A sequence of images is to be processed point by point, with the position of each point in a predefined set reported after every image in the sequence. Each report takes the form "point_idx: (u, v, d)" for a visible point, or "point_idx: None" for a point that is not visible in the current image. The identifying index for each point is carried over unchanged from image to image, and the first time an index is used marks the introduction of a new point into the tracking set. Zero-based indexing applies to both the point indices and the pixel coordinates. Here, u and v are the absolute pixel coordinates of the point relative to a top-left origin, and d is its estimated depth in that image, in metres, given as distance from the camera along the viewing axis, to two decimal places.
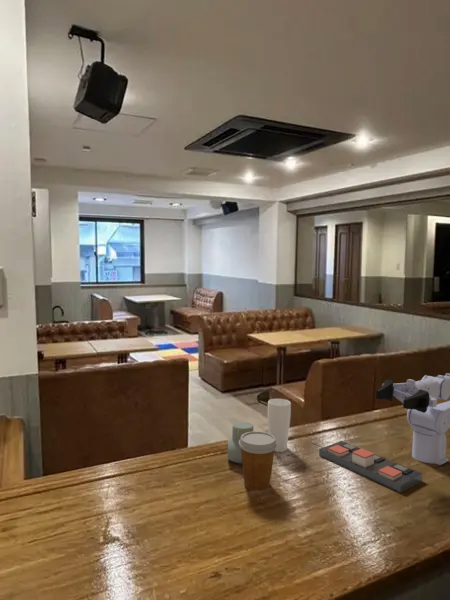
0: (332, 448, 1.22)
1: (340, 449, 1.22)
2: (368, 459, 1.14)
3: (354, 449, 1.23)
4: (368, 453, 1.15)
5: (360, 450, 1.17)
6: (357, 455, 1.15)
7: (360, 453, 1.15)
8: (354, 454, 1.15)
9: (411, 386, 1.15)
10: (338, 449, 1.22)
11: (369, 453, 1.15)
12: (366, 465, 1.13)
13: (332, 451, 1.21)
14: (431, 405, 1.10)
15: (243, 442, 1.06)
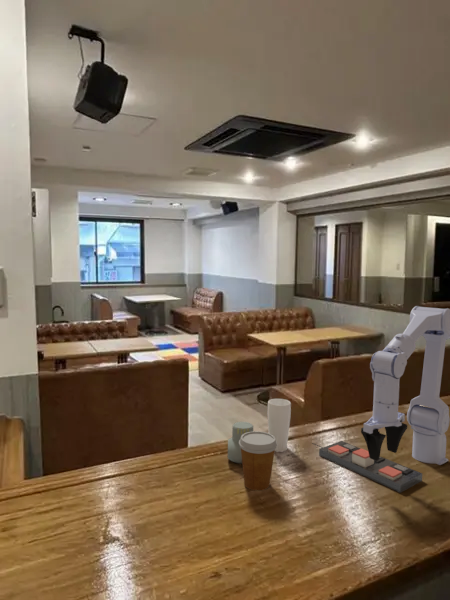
0: (332, 448, 1.22)
1: (340, 449, 1.22)
2: (368, 459, 1.14)
3: (354, 449, 1.23)
4: (368, 453, 1.15)
5: (360, 450, 1.17)
6: (357, 455, 1.15)
7: (360, 453, 1.15)
8: (354, 454, 1.15)
9: None
10: (338, 449, 1.22)
11: None
12: (366, 465, 1.13)
13: (332, 451, 1.21)
14: None
15: (243, 442, 1.06)
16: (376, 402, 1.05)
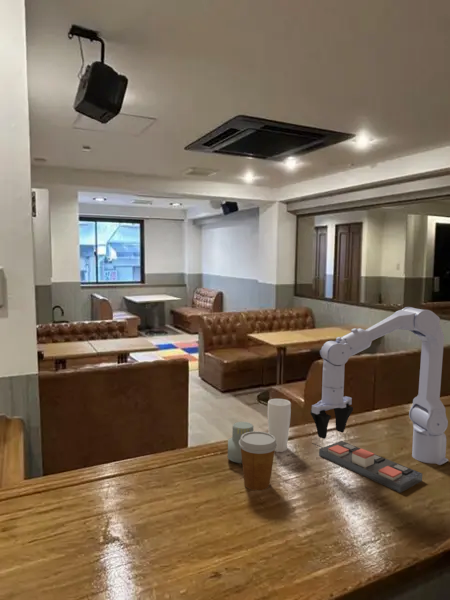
0: (332, 448, 1.22)
1: (340, 449, 1.22)
2: (368, 459, 1.14)
3: (354, 449, 1.23)
4: (368, 453, 1.15)
5: (360, 450, 1.17)
6: (357, 455, 1.15)
7: (360, 453, 1.15)
8: (354, 454, 1.15)
9: None
10: (338, 449, 1.22)
11: (369, 453, 1.15)
12: (366, 465, 1.13)
13: (332, 451, 1.21)
14: None
15: (243, 442, 1.06)
16: (324, 386, 1.17)
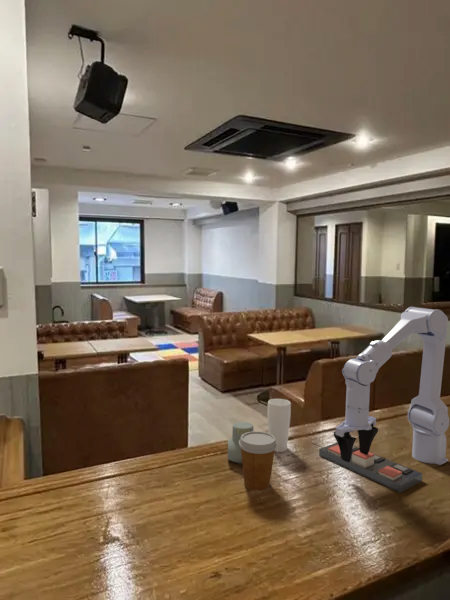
0: (332, 448, 1.22)
1: None
2: (368, 460, 1.14)
3: (354, 449, 1.23)
4: (368, 454, 1.15)
5: None
6: (357, 456, 1.15)
7: (360, 454, 1.15)
8: (354, 455, 1.15)
9: None
10: (338, 449, 1.22)
11: (369, 453, 1.15)
12: (366, 466, 1.13)
13: (332, 451, 1.21)
14: None
15: (243, 442, 1.06)
16: (348, 407, 1.11)
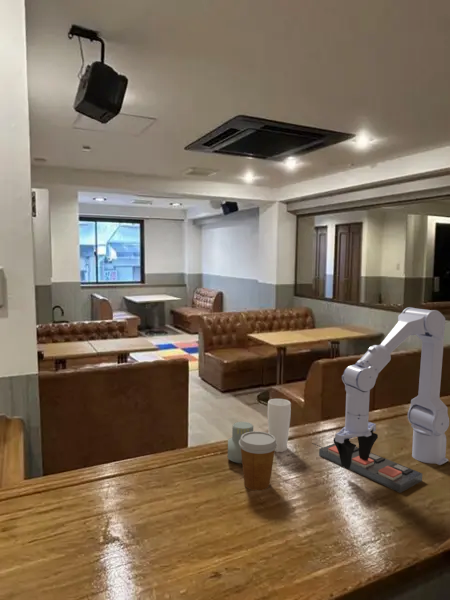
0: (332, 448, 1.22)
1: None
2: (367, 466, 1.14)
3: (354, 449, 1.23)
4: (368, 460, 1.15)
5: None
6: (357, 462, 1.15)
7: (360, 460, 1.15)
8: (354, 461, 1.15)
9: None
10: None
11: (369, 459, 1.15)
12: None
13: (332, 451, 1.21)
14: None
15: (243, 442, 1.06)
16: (348, 413, 1.11)
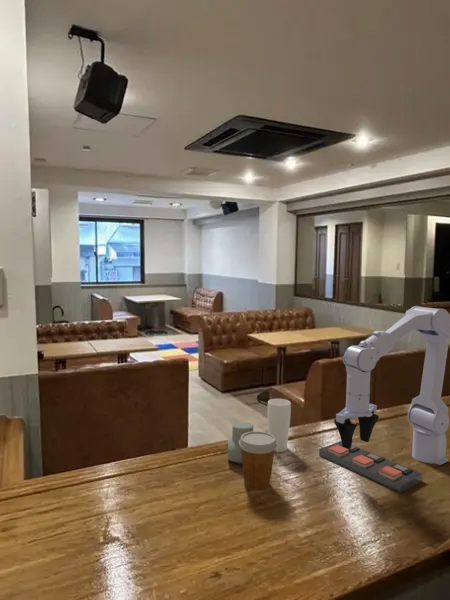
0: (332, 448, 1.22)
1: (340, 449, 1.22)
2: (367, 466, 1.14)
3: (354, 449, 1.23)
4: (368, 460, 1.15)
5: (360, 457, 1.17)
6: (357, 462, 1.15)
7: (360, 460, 1.15)
8: (354, 461, 1.15)
9: None
10: (338, 449, 1.22)
11: (369, 459, 1.15)
12: None
13: (332, 451, 1.21)
14: None
15: (243, 442, 1.06)
16: (348, 394, 1.11)
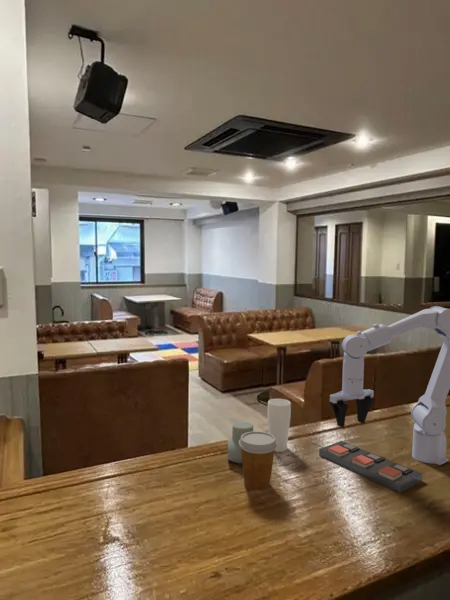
0: (332, 448, 1.22)
1: (340, 449, 1.22)
2: (367, 466, 1.14)
3: (354, 449, 1.23)
4: (368, 460, 1.15)
5: (360, 457, 1.17)
6: (357, 462, 1.15)
7: (360, 460, 1.15)
8: (354, 461, 1.15)
9: None
10: (338, 449, 1.22)
11: (369, 459, 1.15)
12: None
13: (332, 451, 1.21)
14: None
15: (243, 442, 1.06)
16: (343, 378, 1.23)
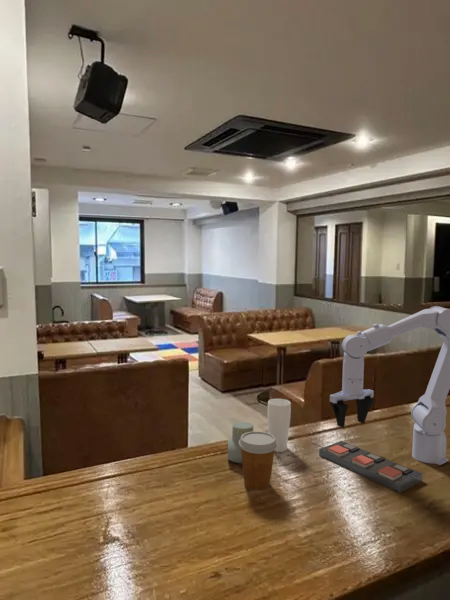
0: (332, 448, 1.22)
1: (340, 449, 1.22)
2: (367, 466, 1.14)
3: (354, 449, 1.23)
4: (368, 460, 1.15)
5: (360, 457, 1.17)
6: (357, 462, 1.15)
7: (360, 460, 1.15)
8: (354, 461, 1.15)
9: None
10: (338, 449, 1.22)
11: (369, 459, 1.15)
12: None
13: (332, 451, 1.21)
14: None
15: (243, 442, 1.06)
16: (343, 378, 1.23)
